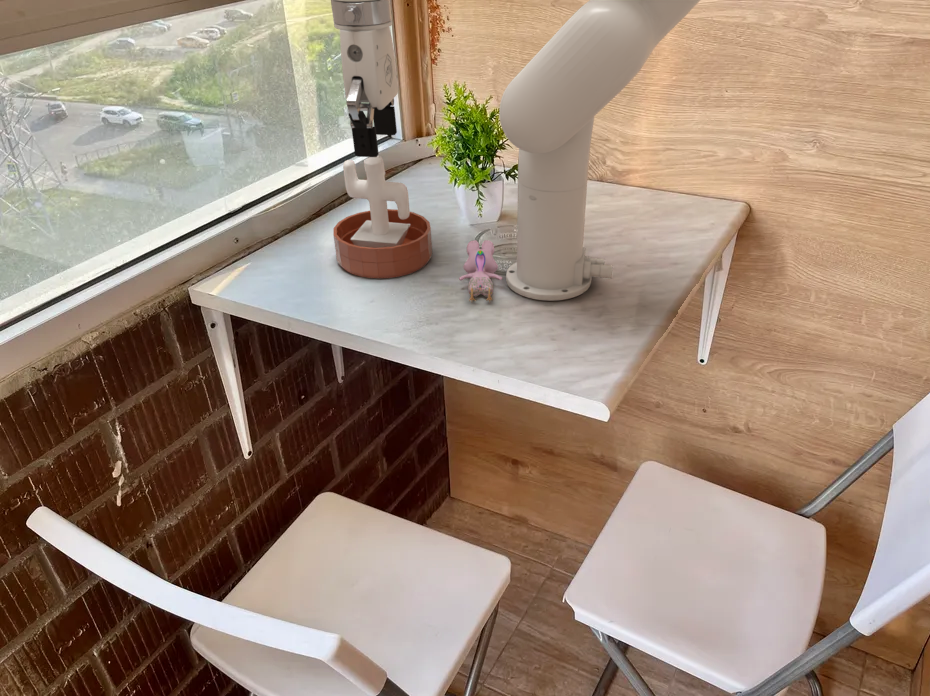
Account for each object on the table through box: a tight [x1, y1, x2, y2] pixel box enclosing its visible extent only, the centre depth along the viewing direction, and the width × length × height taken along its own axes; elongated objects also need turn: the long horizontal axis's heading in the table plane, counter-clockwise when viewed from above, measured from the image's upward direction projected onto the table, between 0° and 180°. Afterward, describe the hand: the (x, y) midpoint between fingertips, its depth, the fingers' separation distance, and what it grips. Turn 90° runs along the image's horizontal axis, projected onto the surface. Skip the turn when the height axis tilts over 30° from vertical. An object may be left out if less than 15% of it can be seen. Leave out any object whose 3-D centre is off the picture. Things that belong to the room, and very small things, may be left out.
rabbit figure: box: [458, 239, 503, 303], centre depth 112 cm, size 6×6×15 cm
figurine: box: [342, 155, 411, 248], centre depth 115 cm, size 7×9×15 cm
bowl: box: [332, 208, 433, 279], centre depth 118 cm, size 15×15×5 cm
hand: (376, 144), depth 109 cm, fingers open, 9 cm apart
